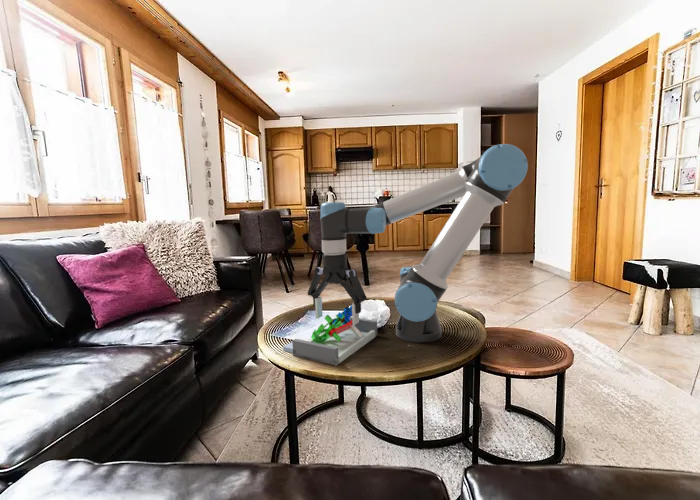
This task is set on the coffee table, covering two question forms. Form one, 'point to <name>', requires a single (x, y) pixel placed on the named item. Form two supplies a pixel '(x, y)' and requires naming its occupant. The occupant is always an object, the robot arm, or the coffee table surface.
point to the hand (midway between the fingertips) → (337, 320)
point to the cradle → (336, 344)
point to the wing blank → (289, 347)
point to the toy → (336, 327)
